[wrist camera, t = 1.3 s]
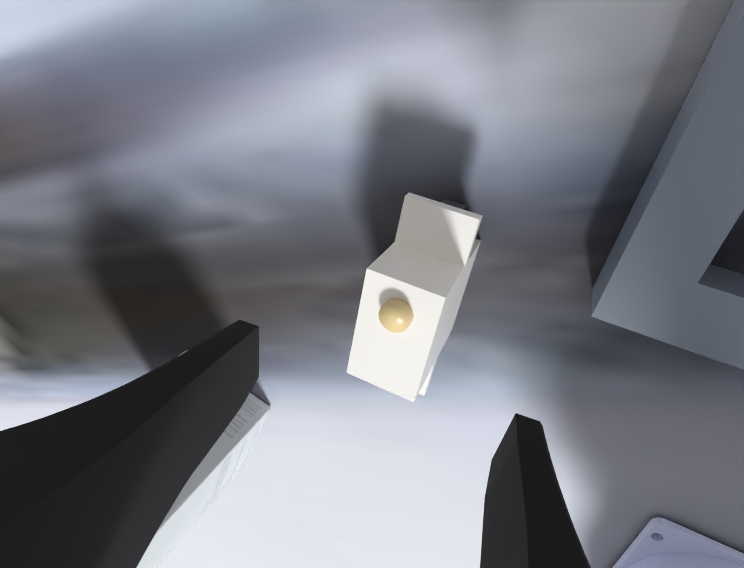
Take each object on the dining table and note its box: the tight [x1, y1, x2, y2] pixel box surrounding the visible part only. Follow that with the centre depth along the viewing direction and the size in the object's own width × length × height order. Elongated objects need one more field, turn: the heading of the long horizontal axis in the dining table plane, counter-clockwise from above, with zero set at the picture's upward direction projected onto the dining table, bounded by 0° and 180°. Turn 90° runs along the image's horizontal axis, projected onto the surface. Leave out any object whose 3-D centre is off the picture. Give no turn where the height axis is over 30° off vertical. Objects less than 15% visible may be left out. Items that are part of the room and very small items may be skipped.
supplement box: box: [137, 350, 270, 568], centre depth 29 cm, size 7×7×13 cm
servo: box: [347, 193, 482, 402], centre depth 20 cm, size 9×3×6 cm, turn 170°
